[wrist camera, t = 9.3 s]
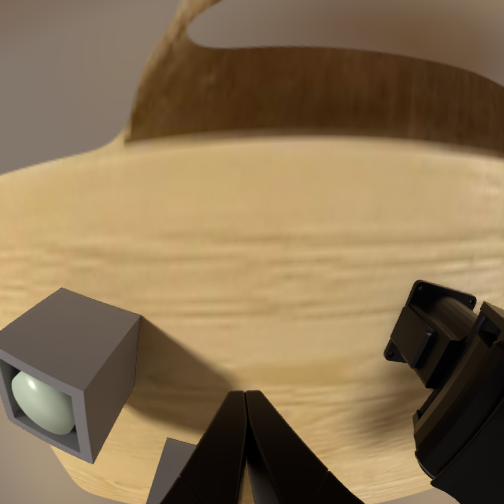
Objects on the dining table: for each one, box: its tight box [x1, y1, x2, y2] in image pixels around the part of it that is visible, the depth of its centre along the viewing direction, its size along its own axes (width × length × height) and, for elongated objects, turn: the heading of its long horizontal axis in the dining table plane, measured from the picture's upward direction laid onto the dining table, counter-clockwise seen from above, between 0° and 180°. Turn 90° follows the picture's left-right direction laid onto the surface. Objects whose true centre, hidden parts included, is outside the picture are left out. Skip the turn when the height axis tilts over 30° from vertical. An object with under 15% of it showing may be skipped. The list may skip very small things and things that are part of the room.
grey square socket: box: [0, 288, 141, 464], centre depth 18 cm, size 7×7×9 cm
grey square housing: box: [146, 438, 196, 504], centre depth 21 cm, size 7×7×9 cm
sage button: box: [12, 371, 75, 435], centre depth 15 cm, size 5×5×2 cm
